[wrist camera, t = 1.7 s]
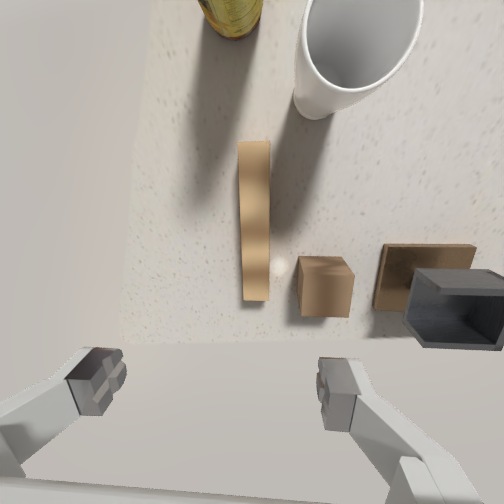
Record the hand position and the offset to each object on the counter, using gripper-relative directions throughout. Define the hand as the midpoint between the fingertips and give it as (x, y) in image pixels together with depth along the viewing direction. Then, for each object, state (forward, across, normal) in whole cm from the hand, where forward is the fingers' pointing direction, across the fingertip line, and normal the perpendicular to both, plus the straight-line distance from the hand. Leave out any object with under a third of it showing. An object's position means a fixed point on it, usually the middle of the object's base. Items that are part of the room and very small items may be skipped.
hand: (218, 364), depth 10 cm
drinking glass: (+25, -7, -15) cm, 30 cm away
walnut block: (+25, -10, +8) cm, 28 cm away
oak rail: (+25, 0, 0) cm, 25 cm away
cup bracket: (+25, -24, +8) cm, 35 cm away
